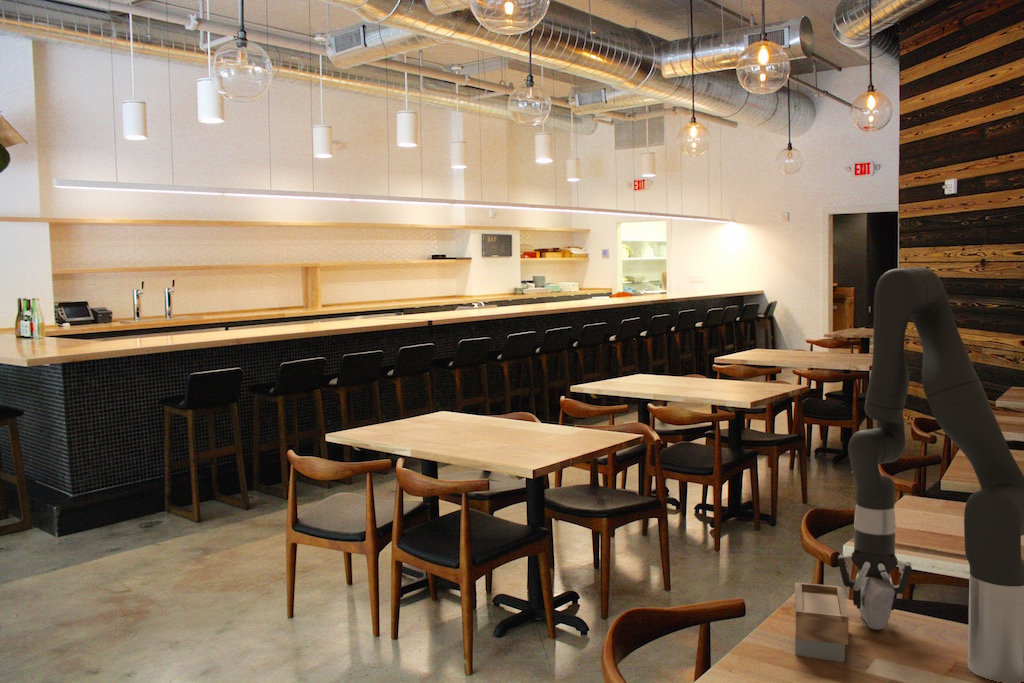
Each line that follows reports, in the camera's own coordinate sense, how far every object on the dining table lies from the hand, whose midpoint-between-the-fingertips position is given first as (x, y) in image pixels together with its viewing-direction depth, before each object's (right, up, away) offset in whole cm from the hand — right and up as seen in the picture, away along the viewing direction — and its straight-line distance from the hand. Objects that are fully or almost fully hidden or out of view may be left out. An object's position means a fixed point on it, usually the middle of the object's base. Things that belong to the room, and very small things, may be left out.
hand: (873, 609), depth 163 cm
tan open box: (-14, 0, -8) cm, 16 cm away
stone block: (0, -3, 0) cm, 3 cm away
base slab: (-14, -4, -8) cm, 16 cm away
